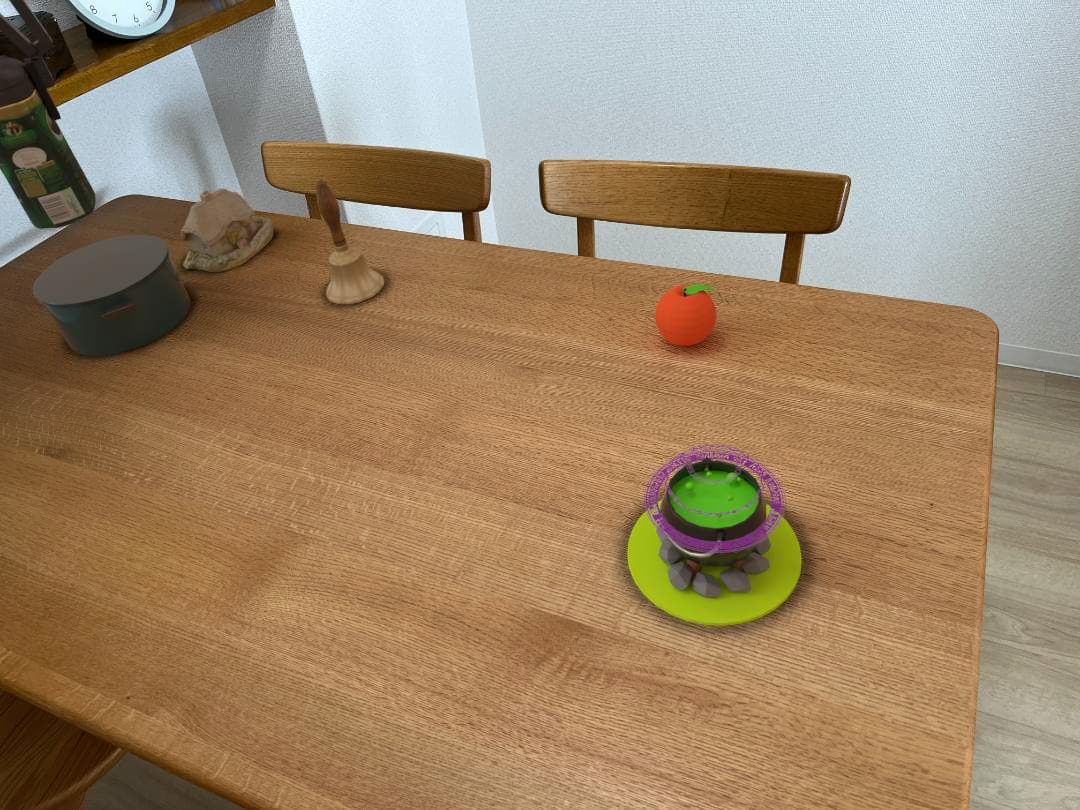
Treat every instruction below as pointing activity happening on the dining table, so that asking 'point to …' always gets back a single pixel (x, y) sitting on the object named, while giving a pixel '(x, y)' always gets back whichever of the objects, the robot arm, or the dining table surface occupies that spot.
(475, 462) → the dining table surface
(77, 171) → the coffee jar
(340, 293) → the hand bell
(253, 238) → the ceramic model
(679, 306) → the clementine
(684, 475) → the toy cauldron
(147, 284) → the teal round box
